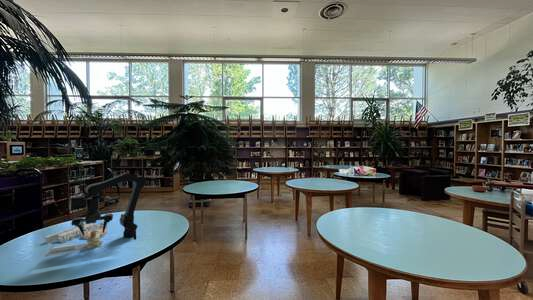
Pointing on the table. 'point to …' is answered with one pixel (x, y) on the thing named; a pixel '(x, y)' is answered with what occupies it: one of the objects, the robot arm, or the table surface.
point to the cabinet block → (93, 239)
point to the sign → (76, 233)
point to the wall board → (70, 249)
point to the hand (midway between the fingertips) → (93, 234)
